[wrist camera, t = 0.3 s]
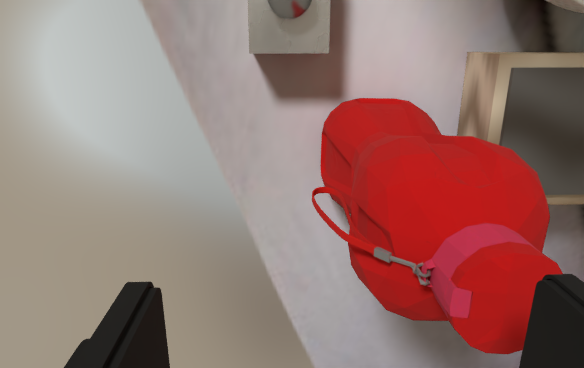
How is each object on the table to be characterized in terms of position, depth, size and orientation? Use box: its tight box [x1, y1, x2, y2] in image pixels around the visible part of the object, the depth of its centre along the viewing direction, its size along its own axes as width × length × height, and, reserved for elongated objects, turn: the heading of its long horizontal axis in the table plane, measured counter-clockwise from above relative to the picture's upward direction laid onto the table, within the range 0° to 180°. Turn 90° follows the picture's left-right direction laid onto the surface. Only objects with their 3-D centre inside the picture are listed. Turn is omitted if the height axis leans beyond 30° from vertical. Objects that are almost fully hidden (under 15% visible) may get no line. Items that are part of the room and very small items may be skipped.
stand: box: [457, 52, 584, 205], centre depth 35 cm, size 12×11×6 cm
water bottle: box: [312, 98, 563, 354], centre depth 27 cm, size 9×11×25 cm
